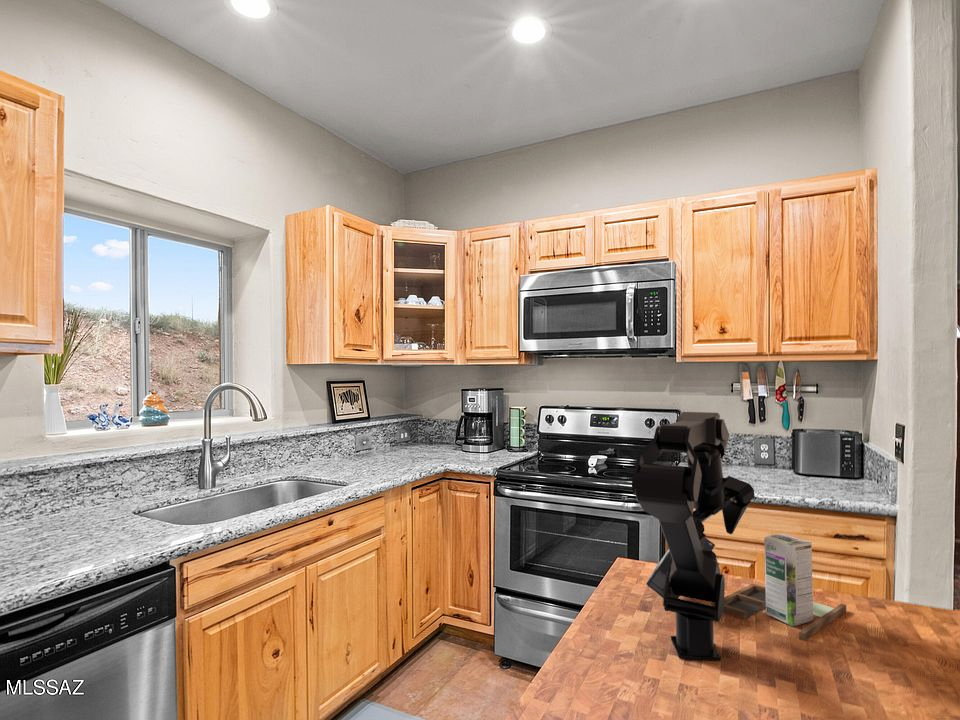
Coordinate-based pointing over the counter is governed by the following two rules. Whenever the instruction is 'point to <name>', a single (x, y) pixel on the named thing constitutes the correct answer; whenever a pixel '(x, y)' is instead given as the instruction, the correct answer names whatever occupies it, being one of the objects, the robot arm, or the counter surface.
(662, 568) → the small box
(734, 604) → the lane
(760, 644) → the counter surface
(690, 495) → the robot arm
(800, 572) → the syrup box
